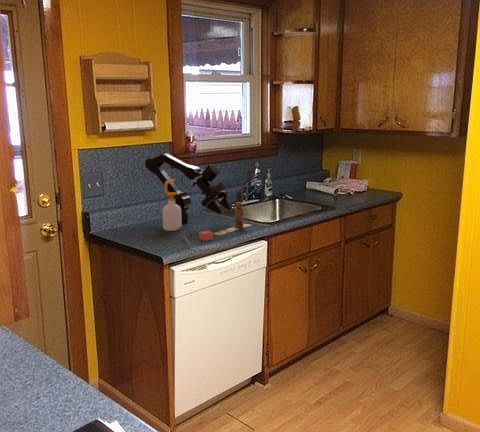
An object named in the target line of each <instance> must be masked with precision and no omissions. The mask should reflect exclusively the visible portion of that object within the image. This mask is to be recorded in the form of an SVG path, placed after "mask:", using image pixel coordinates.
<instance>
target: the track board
mask: <svg viewBox="0 0 480 432" xmlns="http://www.w3.org/2000/svg"><path fill="white" fill-rule="evenodd" d="M246 227H251V224H247V223H243V228H235V227H234V226H233V227H230V228H226V229H223V230H219V231H216V232H213V235H217V236H222V235H225V234H228V233H231V232H234V231H239V230H241V229H244V228H246Z"/></svg>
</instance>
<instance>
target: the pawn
mask: <svg viewBox="0 0 480 432" xmlns="http://www.w3.org/2000/svg"><path fill="white" fill-rule="evenodd" d="M243 209H244V207H243V203H241V201H238V202H236V203H235V209H234V215H235V216H234V226H233V227H235V228H237V229H238V228H241V229H244V228H243V227H244V226H243V224H244V223H243V222H244V219H243V217H244V216H243V214H244V213H243V212H244V211H243Z"/></svg>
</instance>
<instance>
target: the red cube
mask: <svg viewBox="0 0 480 432" xmlns="http://www.w3.org/2000/svg"><path fill="white" fill-rule="evenodd" d="M213 233H214V232H213V231H210V230H205V231H204V230H202V231H199V233H198V234H199V240H202V241H203V242H204V241H212V240H214V234H213Z"/></svg>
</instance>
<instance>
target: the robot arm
mask: <svg viewBox="0 0 480 432" xmlns="http://www.w3.org/2000/svg"><path fill="white" fill-rule="evenodd" d="M165 163H166V164H167V165H168V166H171V167H173V168H175V169H176V170H178V171H180V172H182V173H183V175H184V176H185V177H186V178H188V179H189V180H194V181H192V188H195V187H198V189H199V190H200V191H201V195H202V196H205V198H204V199H203V200H201V202H200V204H201V207H203V208H205V209H208V210H211V211H213V212H215V213H217V214H219V215H222V214H223V211H221V209H220V207H219V206H218V204H219V205H220V206H222V207H223V208H224V209H226V210H228V211H231V210H232V208H231V206H230V204H229V200H228V198H229V192H228V191H227V190H226V189H227V184H226V183H225V182H224V181H221V182H219V184H217V185H214V184H212V183H210V182H214V181H215V180H216V178H218V176H219V175H220V173H221V172H220V170H219V169H218V168H217V167H216V166H213V165H212V164H208V165H207V166H206V168H205V169H202V168H200V167H199V166H196V165H193V164H188V163H186V162H183V160H180V159H178V158H176V157H175V156H173V155H171V154H170V153H162V154H160V155H158V156H155V157H149V158H147V159H145V161H144V166H145V168H146V169H147V170H148V171H149V172H150V173H152V174H154V175H155V176H156V177H157V178H158V180H159V181H160V182H161V184H162V185H163V186H164V183H165V182H166V181H168V180H171V179H172V178H171V177H170V176H169V175H168V173H167V172H166V170H165V169H164V164H165ZM167 192H168V193H172V192H175V193H177V194H176V195H174V196H173V199H175V204H177V205H178V206H180V208H181V220H182V224H188V223H189V214H188V212H187V211H188V210H189V208H190V206H191V203H192V200H191V196H190V195H188V192H187V191H181V190H180V189H179V188H178V186H177V185H176V184H175V181H173V182H170V183H168V185H167ZM217 202H218V204H217Z"/></svg>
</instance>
